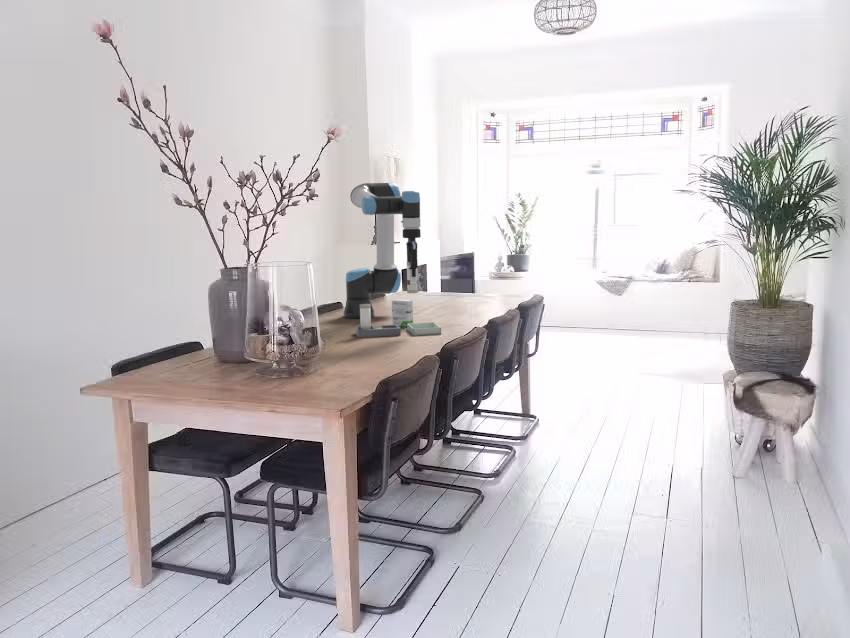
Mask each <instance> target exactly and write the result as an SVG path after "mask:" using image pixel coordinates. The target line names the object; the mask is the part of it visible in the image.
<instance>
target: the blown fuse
mask: <svg viewBox="0 0 850 638" xmlns="http://www.w3.org/2000/svg"><path fill="white" fill-rule="evenodd" d="M417 266H418V262H417ZM409 268H410V262H407V261H406V285H407V288H406V289H407V291H406V293H407V294H417V293H419V287H418V284H419V281H418V274H417V285H410V269H409Z"/></svg>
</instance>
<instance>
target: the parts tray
mask: <svg viewBox="0 0 850 638" xmlns="http://www.w3.org/2000/svg"><path fill="white" fill-rule="evenodd" d="M406 329H407V331H408V332H409V333H410V334H411V335H412V336H428V335H442V327H441V326H440V325H438V324H437V323H436V322H435V321H434V322H432V321H431V322H415V323H414V322H413V323H408V324H407V327H406Z"/></svg>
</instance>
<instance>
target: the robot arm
mask: <svg viewBox="0 0 850 638" xmlns="http://www.w3.org/2000/svg"><path fill="white" fill-rule="evenodd" d="M350 201H351V203H352V204H353V205H354V206H356V207H357V208H361V211H362V214H364V215H365V216H366V215H368V216H373V215H374V216H375V218H376V264H374V265H373V270H371V269H370V268H368V267H363V268H354V269H350V270H349V271H347V272H346V274H345V284H346V285H345V286H346V288H345V289H346V292H345V293H346V303H345V307H344V309H343V317H344V318H346V319H347V318H348V319H360V304H371V307H370V309H371V318H372V317H374V316H375V310H374V307H373V304H372V300H371V295H386V294H388V295H389V294H395V293H396V294H397V292H398V291H399V289H400V287H401V281H402V275H401V271H400V269H398V266H397V265H396V264H395V215H401V216H402V217H401V219H402V220H401V221H400V223H401V224H402V228H403V229H402V238H403V239H407V242H406V244H405V245H406V263H407V262H410V268H409V269H410V285H417V275H418V267H419V266H418V265H417V263H418V242H417V241H416V239H418V238H421V236H422V235H421V233H422V232H421V196H420V192H419V190H403V191H402V193H401V192H400V188H399V186H398V184H396V183H393V182H373V183H372V182H367V183H361V184H359V185H357V186H355V187H353V189H352V190H351V192H350Z"/></svg>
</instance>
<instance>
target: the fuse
mask: <svg viewBox="0 0 850 638" xmlns="http://www.w3.org/2000/svg"><path fill="white" fill-rule="evenodd" d="M371 304H372V303H371ZM371 304H360V318H359V320H360V321H359V322H360V323H359V324H360V325H359V326H361V329H371V326H372V317H371V309H370V307H371Z"/></svg>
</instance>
